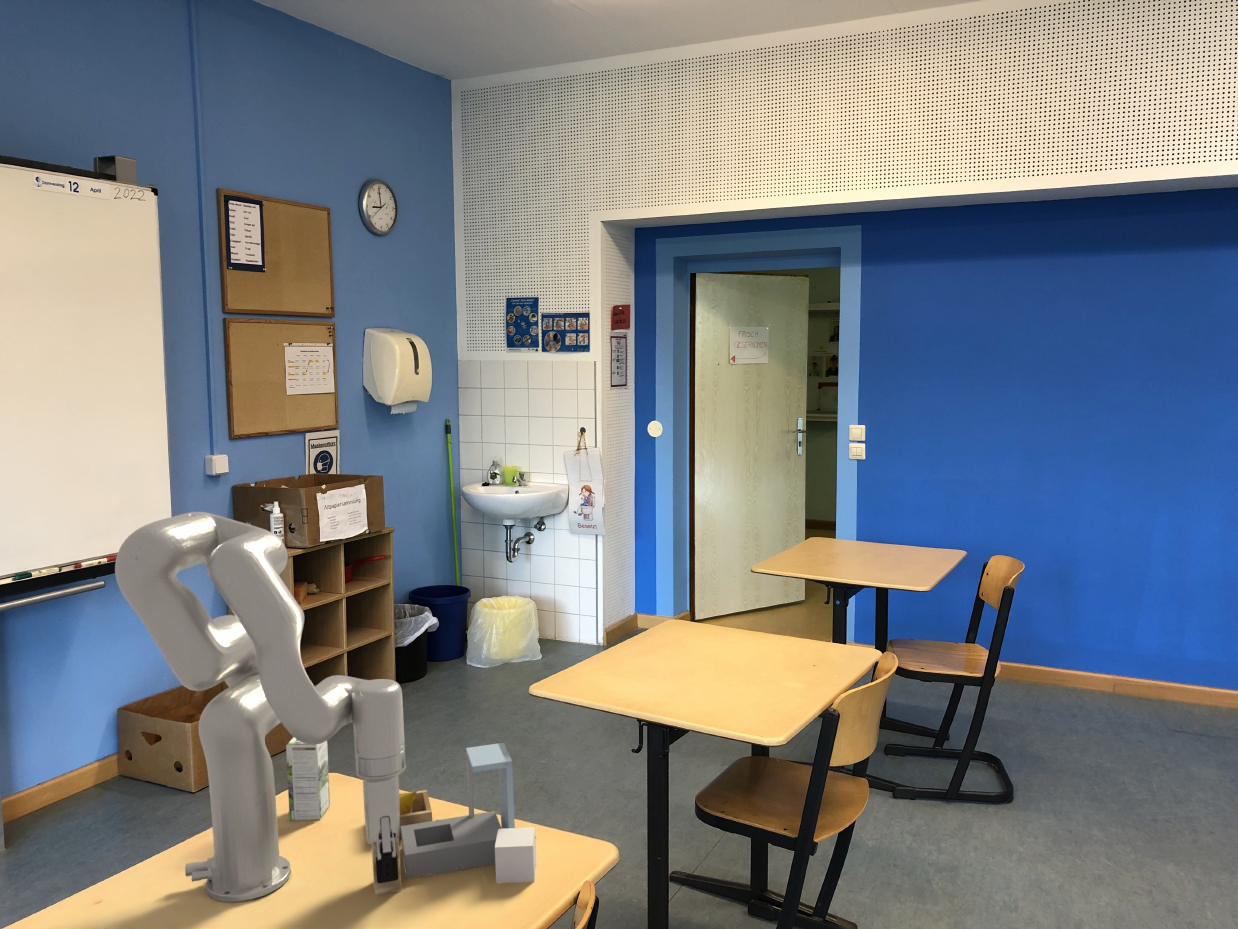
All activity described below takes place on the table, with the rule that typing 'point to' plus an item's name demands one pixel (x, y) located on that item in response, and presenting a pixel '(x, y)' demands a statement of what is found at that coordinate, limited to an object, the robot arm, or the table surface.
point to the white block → (515, 855)
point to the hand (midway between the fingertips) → (386, 871)
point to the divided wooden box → (417, 811)
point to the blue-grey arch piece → (499, 759)
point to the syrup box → (307, 780)
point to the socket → (449, 844)
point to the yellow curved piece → (407, 802)
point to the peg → (379, 887)
